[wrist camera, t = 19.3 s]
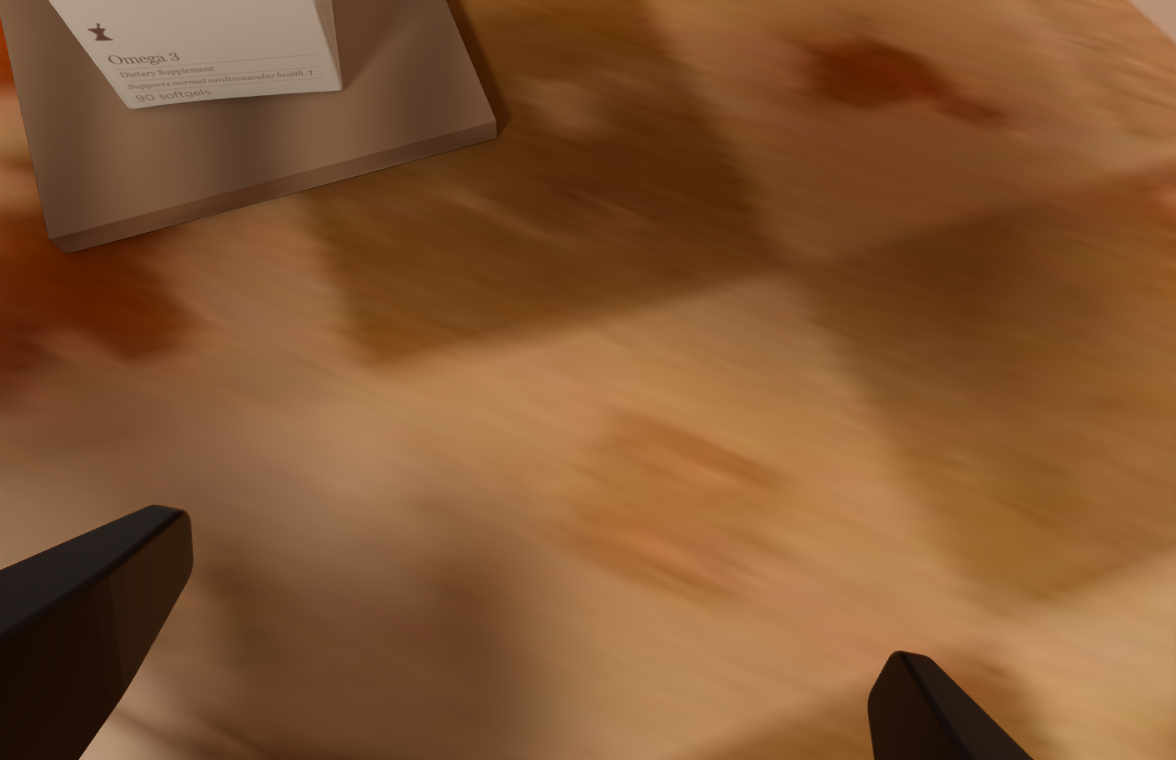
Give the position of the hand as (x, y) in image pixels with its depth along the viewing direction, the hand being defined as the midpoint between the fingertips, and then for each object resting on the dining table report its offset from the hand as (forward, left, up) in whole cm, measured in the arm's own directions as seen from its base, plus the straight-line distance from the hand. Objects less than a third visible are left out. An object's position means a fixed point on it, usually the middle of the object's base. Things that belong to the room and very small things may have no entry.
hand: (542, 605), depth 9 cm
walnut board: (-3, +24, -14) cm, 27 cm away
